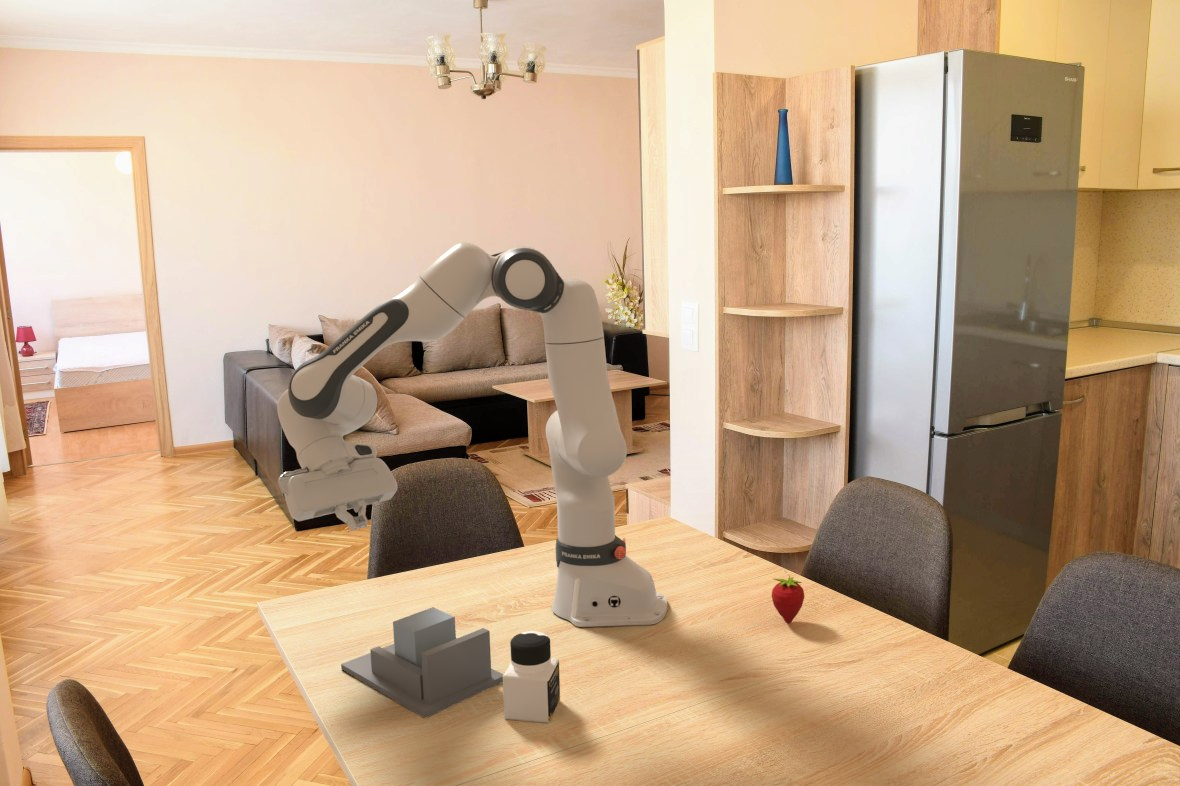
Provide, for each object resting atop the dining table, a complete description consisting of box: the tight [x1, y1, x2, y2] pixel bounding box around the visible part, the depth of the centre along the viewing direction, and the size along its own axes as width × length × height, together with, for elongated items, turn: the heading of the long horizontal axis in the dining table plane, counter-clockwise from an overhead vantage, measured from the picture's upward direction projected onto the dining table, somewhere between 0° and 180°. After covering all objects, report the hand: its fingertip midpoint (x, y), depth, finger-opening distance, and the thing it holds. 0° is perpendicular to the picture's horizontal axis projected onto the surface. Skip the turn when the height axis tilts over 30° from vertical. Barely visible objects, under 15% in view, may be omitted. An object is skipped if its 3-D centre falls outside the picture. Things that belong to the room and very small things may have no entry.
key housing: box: [340, 627, 504, 719], centre depth 152 cm, size 24×16×9 cm, turn 46°
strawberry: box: [771, 569, 805, 624], centre depth 170 cm, size 6×8×10 cm
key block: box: [392, 606, 457, 669], centre depth 151 cm, size 6×8×9 cm
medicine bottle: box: [502, 630, 561, 724], centre depth 140 cm, size 7×7×12 cm
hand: (360, 527), depth 161 cm, fingers closed
